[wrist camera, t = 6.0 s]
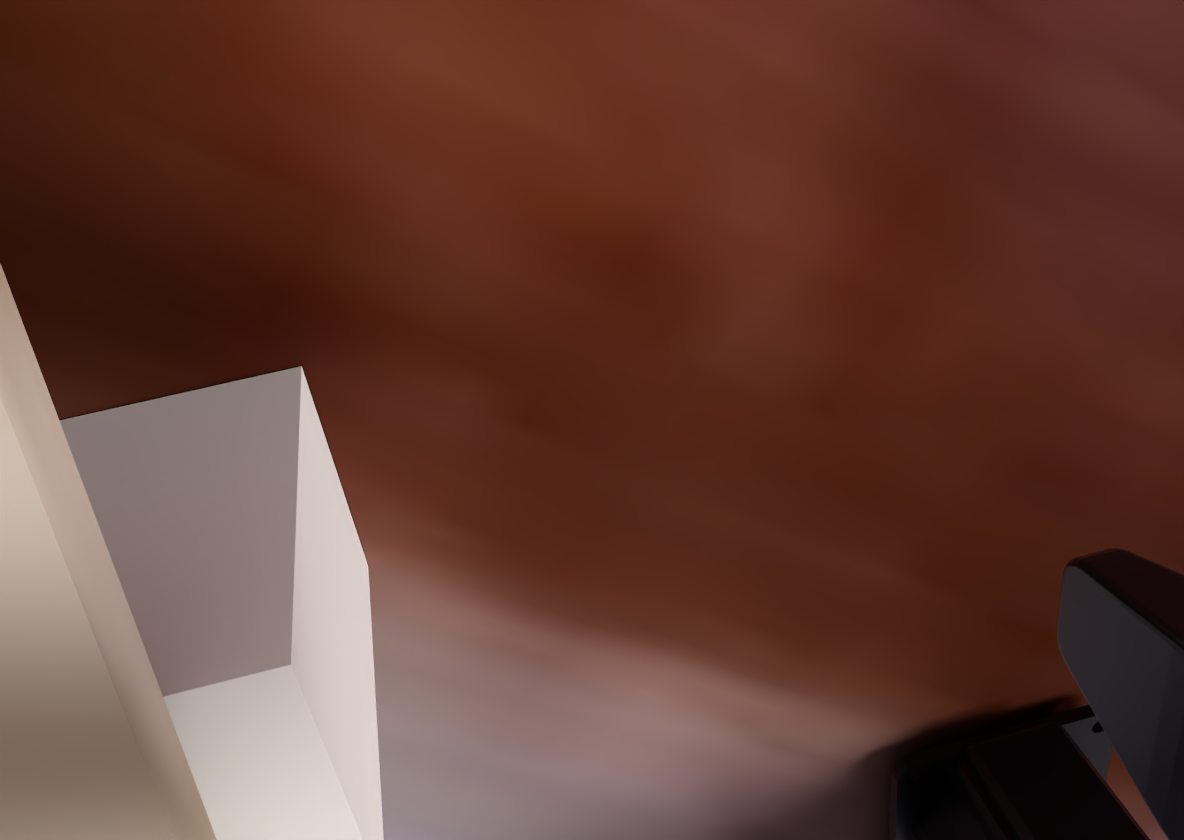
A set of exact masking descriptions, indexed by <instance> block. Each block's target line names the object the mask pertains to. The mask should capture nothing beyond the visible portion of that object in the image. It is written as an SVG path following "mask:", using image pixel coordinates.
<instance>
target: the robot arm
mask: <svg viewBox="0 0 1184 840" xmlns="http://www.w3.org/2000/svg"><path fill="white" fill-rule="evenodd" d="M1057 638H1058V644H1059V648H1060V652H1061V654H1062V657H1063V659H1064V661H1065V663H1066V665H1067V667H1068V668H1069V670H1070V672H1071V674H1072V675H1073V677H1074V679H1075V681H1076V682H1077V684H1078V686H1079V688H1080V689H1081V691H1082V693H1083V695H1084V696H1085V698H1086V700H1087V702H1088V703H1089V705H1086V706H1083V707H1079V708H1076V709H1072V710H1068V711H1065V712H1061V713H1058V714H1054V715H1050V716H1047V717H1043V718H1040V719H1036V720H1032V721H1029V722H1025V723H1022V724H1018V725H1014V726H1011V727H1007V728H1004V729H1000V730H996V731H993V732H989V733H986V734H982V735H978V736H975V737H971V738H968V739H964V740H960V741H957V742H953V743H950V744H946V745H942V746H939V747H935V748H932V749H928V750H924V751H921V752H917V753H914V754H910V755H907V756H905V757H902V758H901V759H899V760H898V761H896V762H895V764H894V765H893V766H892V769H891V784H890V831H889V840H1150V839H1149V838H1148V836H1147V835H1146V834H1145V833H1144V831H1143V830H1142V829H1141V827H1140V826H1139V825H1138V823H1137V822H1136V821H1135V819H1134V818H1133V817H1132V816H1131V814H1130V813H1129V812H1128V810H1127V809H1126V808H1125V806H1124V805H1123V804H1122V803H1121V801H1120V800H1119V799H1118V797H1117V796H1116V795H1115V793H1114V792H1113V791H1112V789H1111V788H1110V787H1109V786H1108V784H1107V783H1106V777H1107V772H1108V767H1109V761H1110V756H1111V751H1112V746H1113V747H1114V749H1115V751H1116V752H1117V754H1118V756H1119V758H1120V759H1121V761H1122V763H1123V765H1124V766H1125V768H1126V770H1127V772H1128V773H1129V775H1130V777H1131V779H1132V780H1133V782H1134V784H1135V786H1136V787H1137V789H1138V791H1139V793H1140V794H1141V796H1142V798H1143V800H1144V801H1145V803H1146V805H1147V806H1148V808H1149V809H1150V811H1151V813H1152V814H1153V816H1154V818H1155V819H1156V821H1157V823H1158V824H1159V826H1160V828H1161V829H1162V831H1163V832H1164V833H1165V835H1166V836H1167V838H1168V839H1169V840H1184V575H1183V574H1180V573H1178V572H1176V571H1173V570H1171V569H1169V568H1166V567H1164V566H1162V565H1159V564H1157V563H1155V562H1152V561H1150V560H1148V559H1145V558H1143V557H1141V556H1138V555H1136V554H1134V553H1131V552H1129V551H1126V550H1123V549H1118V548H1111V549H1106V550H1102V551H1099V552H1095V553H1091V554H1088V555H1084V556H1080V557H1077V558H1074V559H1072V560H1070V561H1069V562H1068V564H1067V565H1066V567H1065V568H1064V572H1063V578H1062V587H1061V597H1060V607H1059V616H1058V626H1057Z"/></svg>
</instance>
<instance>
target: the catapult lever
mask: <svg viewBox="0 0 1184 840" xmlns="http://www.w3.org/2000/svg"><path fill="white" fill-rule="evenodd" d="M0 840H217V839H216V837H215V834H214V831H213V829H212V826H211V823H210V821H209V818H208V815H207V813H206V810H205V807H204V805H203V802H202V799H201V797H200V794H199V791H198V789H197V786H196V783H195V781H194V778H193V775H192V773H191V770H190V767H189V765H188V762H187V759H186V757H185V754H184V751H183V749H182V746H181V743H180V741H179V738H178V735H177V733H176V730H175V727H174V725H173V722H172V719H171V717H170V714H169V711H168V709H167V706H166V703H165V701H164V698H163V695H162V693H161V690H160V687H159V685H158V682H157V679H156V677H155V674H154V671H153V669H152V666H151V663H150V661H149V658H148V655H147V653H146V650H145V647H144V645H143V642H142V639H141V637H140V634H139V631H138V629H137V626H136V623H135V621H134V618H133V615H132V613H131V610H130V608H129V605H128V602H127V600H126V597H125V594H124V592H123V589H122V586H121V584H120V581H119V578H118V576H117V573H116V570H115V568H114V565H113V562H112V560H111V557H110V554H109V552H108V549H107V546H106V544H105V541H104V538H103V536H102V533H101V530H100V528H99V525H98V522H97V520H96V517H95V514H94V512H93V509H92V506H91V504H90V501H89V498H88V496H87V493H86V490H85V488H84V485H83V482H82V480H81V477H80V474H79V472H78V469H77V466H76V464H75V461H74V458H73V456H72V453H71V450H70V448H69V445H68V442H67V440H66V437H65V434H64V432H63V429H62V426H61V424H60V421H59V418H58V416H57V413H56V410H55V408H54V405H53V402H52V400H51V397H50V394H49V392H48V389H47V386H46V384H45V381H44V378H43V376H42V373H41V370H40V368H39V365H38V362H37V360H36V357H35V354H34V352H33V349H32V346H31V344H30V341H29V338H28V336H27V333H26V330H25V328H24V325H23V322H22V320H21V317H20V314H19V312H18V309H17V307H16V304H15V301H14V299H13V296H12V293H11V291H10V288H9V285H8V283H7V280H6V277H5V275H4V272H3V269H2V267H1V264H0Z"/></svg>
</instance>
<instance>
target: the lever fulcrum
mask: <svg viewBox="0 0 1184 840" xmlns="http://www.w3.org/2000/svg"><path fill="white" fill-rule="evenodd" d="M59 421H60V424H61V426H62V429H63V432H64V434H65V437H66V440H67V442H68V445H69V448H70V450H71V453H72V456H73V458H74V461H75V464H76V466H77V469H78V472H79V474H80V477H81V480H82V482H83V485H84V488H85V490H86V493H87V496H88V498H89V501H90V504H91V506H92V509H93V512H94V514H95V517H96V520H97V522H98V525H99V528H100V530H101V533H102V536H103V538H104V541H105V544H106V546H107V549H108V552H109V554H110V557H111V560H112V562H113V565H114V568H115V570H116V573H117V576H118V578H119V581H120V584H121V586H122V589H123V592H124V594H125V597H126V600H127V602H128V605H129V608H130V610H131V613H132V615H133V618H134V621H135V623H136V626H137V629H138V631H139V634H140V637H141V639H142V642H143V645H144V647H145V650H146V653H147V655H148V658H149V661H150V663H151V666H152V669H153V671H154V674H155V677H156V679H157V682H158V685H159V687H160V690H161V693H162V695H163V698H164V701H165V703H166V706H167V709H168V711H169V714H170V717H171V719H172V722H173V725H174V727H175V730H176V733H177V735H178V738H179V741H180V743H181V746H182V749H183V751H184V754H185V757H186V759H187V762H188V765H189V767H190V770H191V773H192V775H193V778H194V781H195V783H196V786H197V789H198V791H199V794H200V797H201V799H202V802H203V805H204V807H205V810H206V813H207V815H208V818H209V821H210V823H211V826H212V829H213V831H214V834H215V837H216V839H217V840H384V838H383V821H382V803H381V785H380V767H379V750H378V732H377V714H376V696H375V678H374V661H373V643H372V625H371V607H370V590H369V572H368V564H367V561H366V558H365V555H364V552H363V549H362V546H361V543H360V540H359V537H358V534H357V531H356V528H355V525H354V522H353V519H352V516H351V513H350V510H349V507H348V504H347V501H346V498H345V495H344V492H343V489H342V486H341V483H340V480H339V477H338V474H337V471H336V468H335V465H334V462H333V459H332V456H331V453H330V450H329V447H328V444H327V441H326V438H325V435H324V432H323V429H322V426H321V423H320V420H319V417H318V414H317V411H316V408H315V405H314V402H313V399H312V396H311V393H310V390H309V387H308V384H307V381H306V378H305V375H304V372H303V369H302V366H300V367H296V368H291V369H287V370H282V371H278V372H273V373H269V374H265V375H260V376H256V377H251V378H247V379H242V380H238V381H233V382H229V383H224V384H220V385H215V386H211V387H207V388H202V389H198V390H193V391H189V392H184V393H180V394H175V395H171V396H166V397H162V398H157V399H153V400H149V401H144V402H140V403H135V404H131V405H126V406H122V407H117V408H113V409H108V410H104V411H99V412H95V413H90V414H86V415H82V416H77V417H73V418H68V419H64V420H59Z"/></svg>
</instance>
